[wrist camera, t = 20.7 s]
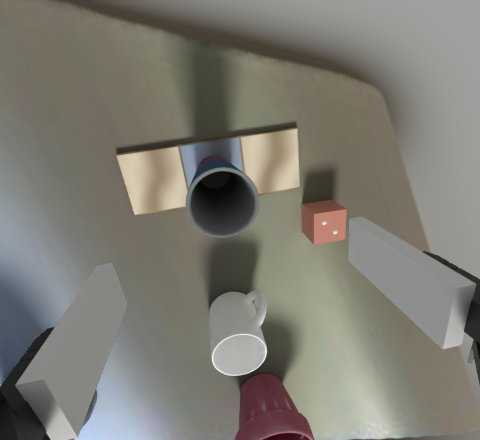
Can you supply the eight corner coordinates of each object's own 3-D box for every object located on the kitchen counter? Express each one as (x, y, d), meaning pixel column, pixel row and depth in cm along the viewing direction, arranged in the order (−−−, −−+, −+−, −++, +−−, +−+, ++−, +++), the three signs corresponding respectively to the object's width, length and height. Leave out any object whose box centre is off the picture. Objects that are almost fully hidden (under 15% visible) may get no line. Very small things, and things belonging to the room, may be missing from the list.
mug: (239, 266, 45) (250, 306, 36) (275, 287, 48) (294, 329, 38) (200, 315, 48) (200, 364, 38) (236, 332, 50) (244, 382, 41)
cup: (226, 140, 37) (243, 154, 23) (244, 184, 39) (269, 220, 25) (182, 160, 37) (172, 185, 23) (202, 202, 39) (205, 248, 25)
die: (301, 231, 45) (314, 245, 40) (301, 203, 43) (314, 214, 38) (329, 227, 45) (345, 240, 40) (330, 199, 43) (347, 209, 38)
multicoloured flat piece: (135, 214, 39) (133, 216, 39) (116, 153, 36) (115, 154, 35) (298, 186, 42) (300, 188, 41) (296, 127, 38) (298, 127, 37)
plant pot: (292, 404, 60) (314, 473, 49) (231, 415, 59) (239, 490, 47) (293, 358, 55) (319, 424, 43) (226, 370, 54) (234, 441, 42)
